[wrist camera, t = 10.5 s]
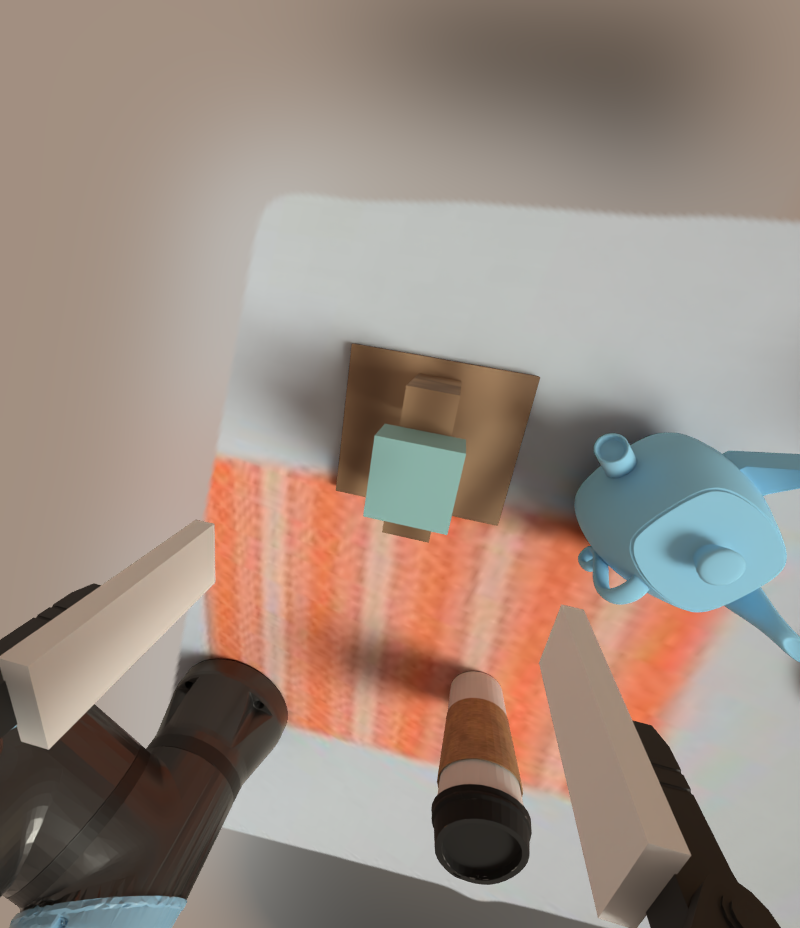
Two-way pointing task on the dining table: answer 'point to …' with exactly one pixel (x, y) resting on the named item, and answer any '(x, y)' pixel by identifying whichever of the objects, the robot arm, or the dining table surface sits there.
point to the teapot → (687, 526)
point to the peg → (414, 478)
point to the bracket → (437, 422)
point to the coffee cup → (479, 787)
